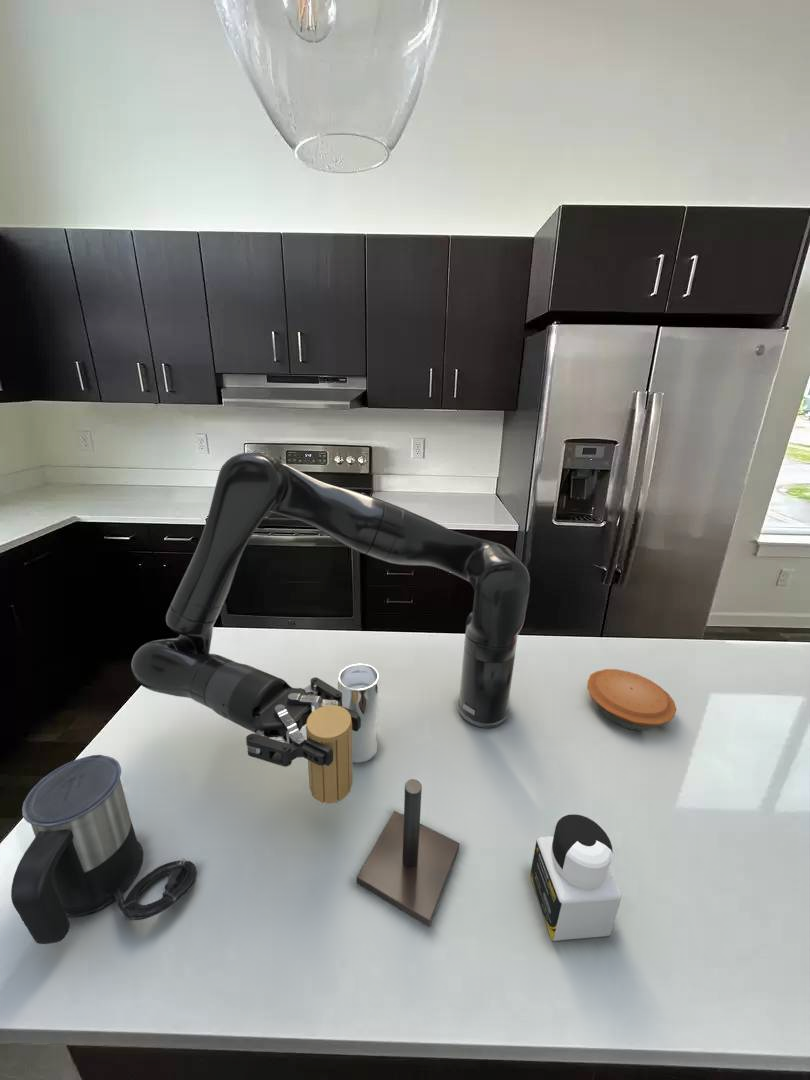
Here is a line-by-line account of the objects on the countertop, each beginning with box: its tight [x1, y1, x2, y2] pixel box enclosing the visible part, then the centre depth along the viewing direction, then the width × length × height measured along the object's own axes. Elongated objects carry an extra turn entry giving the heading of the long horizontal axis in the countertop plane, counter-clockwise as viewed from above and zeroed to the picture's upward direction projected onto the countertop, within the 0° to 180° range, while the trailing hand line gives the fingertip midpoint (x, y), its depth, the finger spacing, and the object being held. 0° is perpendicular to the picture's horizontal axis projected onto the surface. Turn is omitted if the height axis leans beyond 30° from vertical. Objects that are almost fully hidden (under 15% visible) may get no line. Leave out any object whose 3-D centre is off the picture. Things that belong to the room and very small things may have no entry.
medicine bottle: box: [529, 813, 623, 942], centre depth 50 cm, size 7×7×12 cm
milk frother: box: [10, 754, 198, 945], centre depth 50 cm, size 14×16×15 cm
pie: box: [586, 668, 677, 731], centre depth 83 cm, size 16×16×5 cm
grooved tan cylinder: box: [305, 705, 354, 805], centre depth 56 cm, size 6×6×11 cm
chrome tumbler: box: [336, 663, 381, 764], centre depth 70 cm, size 7×7×15 cm
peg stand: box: [356, 778, 460, 928], centre depth 53 cm, size 10×10×14 cm
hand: (345, 740), depth 54 cm, fingers closed on grooved tan cylinder, 5 cm apart
